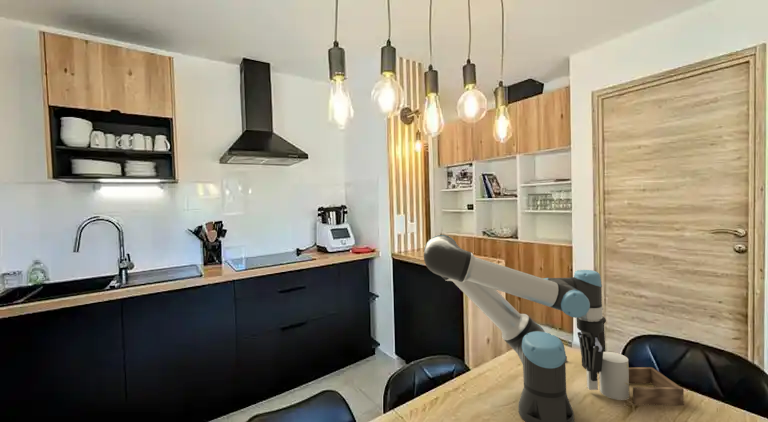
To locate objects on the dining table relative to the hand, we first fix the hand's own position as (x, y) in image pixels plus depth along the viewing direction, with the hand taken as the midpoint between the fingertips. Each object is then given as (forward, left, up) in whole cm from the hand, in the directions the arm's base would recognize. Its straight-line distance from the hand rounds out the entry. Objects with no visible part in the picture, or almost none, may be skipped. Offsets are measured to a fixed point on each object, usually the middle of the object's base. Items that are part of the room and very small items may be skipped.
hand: (592, 388), depth 117 cm
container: (+9, +18, -2) cm, 20 cm away
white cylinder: (+7, 0, -2) cm, 7 cm away
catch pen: (+16, 0, -2) cm, 16 cm away
